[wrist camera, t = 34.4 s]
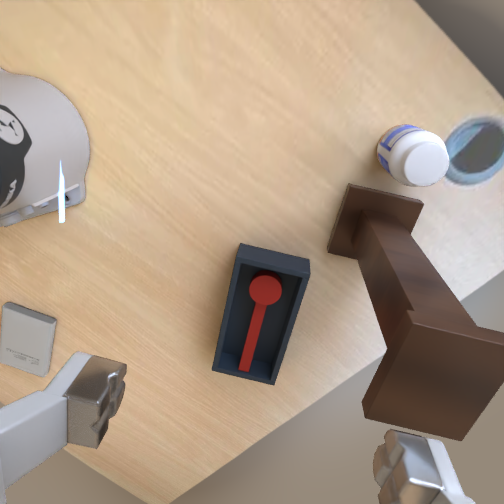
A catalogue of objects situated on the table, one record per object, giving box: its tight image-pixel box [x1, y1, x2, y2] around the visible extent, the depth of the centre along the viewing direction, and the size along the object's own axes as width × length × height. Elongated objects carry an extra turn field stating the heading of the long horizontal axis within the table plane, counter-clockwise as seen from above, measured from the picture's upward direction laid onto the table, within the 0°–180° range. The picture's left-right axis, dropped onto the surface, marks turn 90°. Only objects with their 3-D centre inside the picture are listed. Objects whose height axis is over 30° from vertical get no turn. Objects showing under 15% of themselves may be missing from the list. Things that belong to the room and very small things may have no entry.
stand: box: [327, 183, 504, 441], centre depth 35 cm, size 10×9×26 cm
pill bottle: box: [377, 124, 449, 186], centre depth 38 cm, size 5×5×10 cm
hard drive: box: [0, 302, 57, 377], centre depth 61 cm, size 2×8×12 cm
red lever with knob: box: [238, 270, 282, 372], centre depth 52 cm, size 16×4×2 cm, turn 168°
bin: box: [212, 243, 310, 385], centre depth 52 cm, size 20×10×4 cm, turn 168°
